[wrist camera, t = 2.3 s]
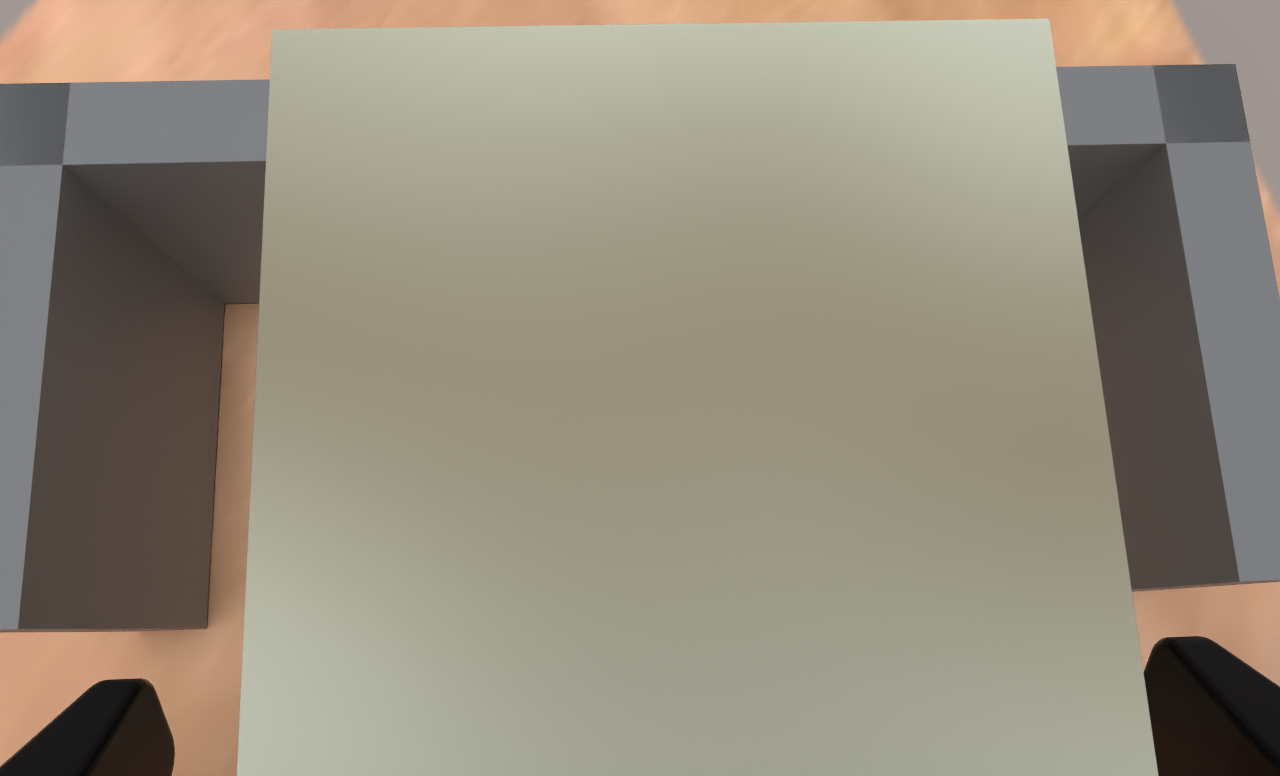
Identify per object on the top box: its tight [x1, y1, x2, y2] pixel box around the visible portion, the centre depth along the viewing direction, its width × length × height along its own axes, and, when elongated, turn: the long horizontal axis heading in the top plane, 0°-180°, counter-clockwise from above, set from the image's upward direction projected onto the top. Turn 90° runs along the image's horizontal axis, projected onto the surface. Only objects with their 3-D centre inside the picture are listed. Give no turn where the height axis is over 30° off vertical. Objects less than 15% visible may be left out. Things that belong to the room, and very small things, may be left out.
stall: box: [0, 64, 1280, 632], centre depth 16 cm, size 7×17×6 cm, turn 92°
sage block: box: [237, 19, 1158, 776], centre depth 12 cm, size 5×5×13 cm
